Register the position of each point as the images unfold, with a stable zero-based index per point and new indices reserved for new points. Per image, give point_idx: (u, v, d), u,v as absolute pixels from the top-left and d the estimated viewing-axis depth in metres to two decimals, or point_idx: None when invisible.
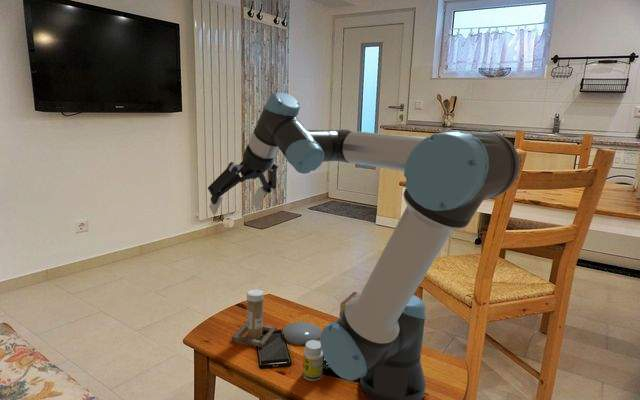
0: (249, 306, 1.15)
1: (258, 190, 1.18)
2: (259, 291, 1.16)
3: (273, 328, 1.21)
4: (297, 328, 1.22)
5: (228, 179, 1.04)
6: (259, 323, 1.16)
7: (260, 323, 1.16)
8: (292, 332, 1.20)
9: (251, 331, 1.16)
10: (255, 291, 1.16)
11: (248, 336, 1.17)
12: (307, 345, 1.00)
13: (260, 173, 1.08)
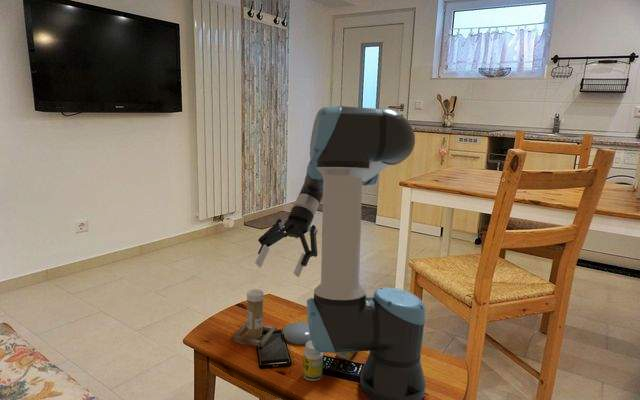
0: (249, 306, 1.15)
1: None
2: (259, 291, 1.16)
3: (273, 328, 1.21)
4: (297, 328, 1.22)
5: (272, 227, 1.33)
6: (259, 323, 1.16)
7: (260, 323, 1.16)
8: (292, 332, 1.20)
9: (251, 331, 1.16)
10: (255, 291, 1.16)
11: (248, 336, 1.17)
12: (307, 345, 1.00)
13: (297, 225, 1.29)
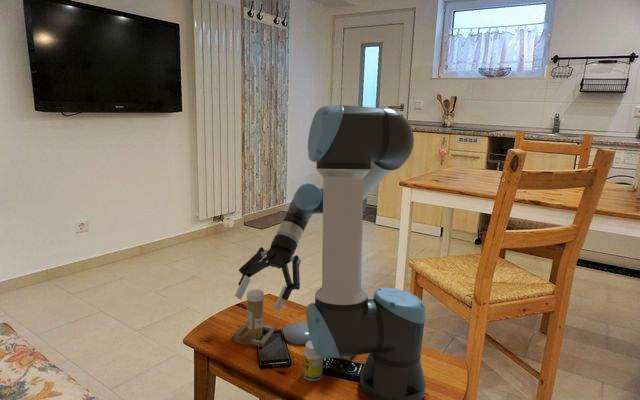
0: (249, 306, 1.15)
1: None
2: (259, 291, 1.16)
3: (273, 328, 1.21)
4: (297, 328, 1.22)
5: (254, 257, 1.27)
6: (259, 323, 1.16)
7: (260, 323, 1.16)
8: (292, 332, 1.20)
9: (251, 331, 1.16)
10: (255, 291, 1.16)
11: (248, 336, 1.17)
12: (307, 345, 1.00)
13: (279, 255, 1.23)
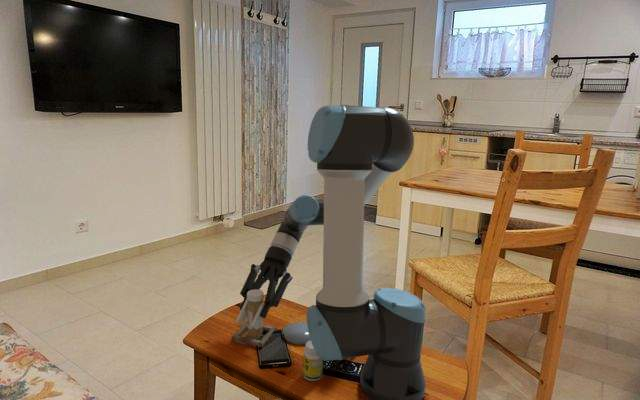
0: (249, 306, 1.15)
1: None
2: (259, 291, 1.16)
3: (273, 328, 1.21)
4: (297, 328, 1.22)
5: (250, 275, 1.22)
6: None
7: (260, 323, 1.16)
8: (292, 332, 1.20)
9: (251, 331, 1.16)
10: (255, 291, 1.16)
11: (248, 336, 1.17)
12: (307, 345, 1.00)
13: (273, 268, 1.20)
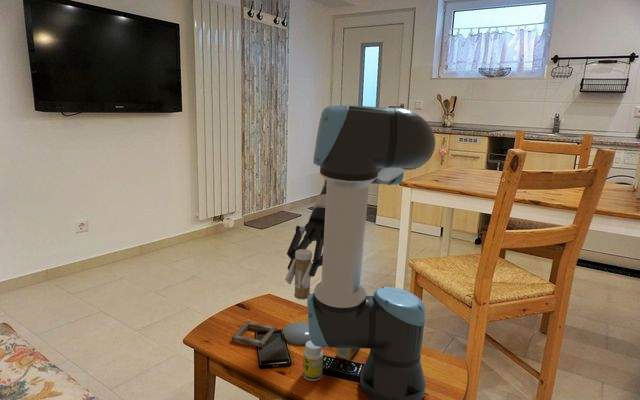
0: (298, 265, 1.14)
1: None
2: (307, 250, 1.16)
3: (273, 328, 1.21)
4: (297, 328, 1.22)
5: (295, 236, 1.21)
6: None
7: None
8: (292, 332, 1.20)
9: (300, 290, 1.15)
10: (303, 250, 1.16)
11: (296, 296, 1.16)
12: (307, 345, 1.00)
13: (319, 228, 1.20)
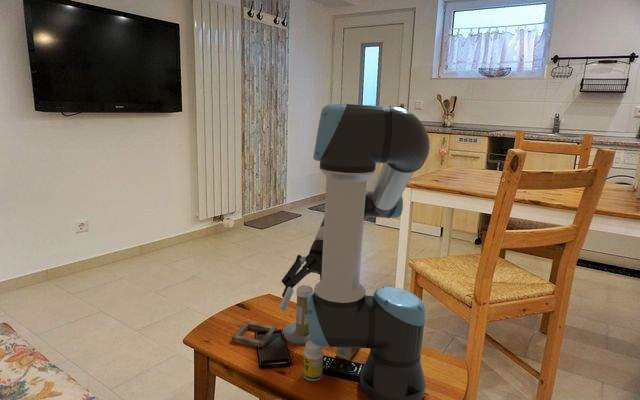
0: (299, 302, 1.17)
1: None
2: (308, 287, 1.18)
3: (273, 328, 1.21)
4: None
5: (294, 265, 1.24)
6: None
7: None
8: (292, 332, 1.20)
9: (301, 326, 1.18)
10: (304, 287, 1.18)
11: (297, 331, 1.19)
12: (307, 345, 1.00)
13: (319, 261, 1.22)
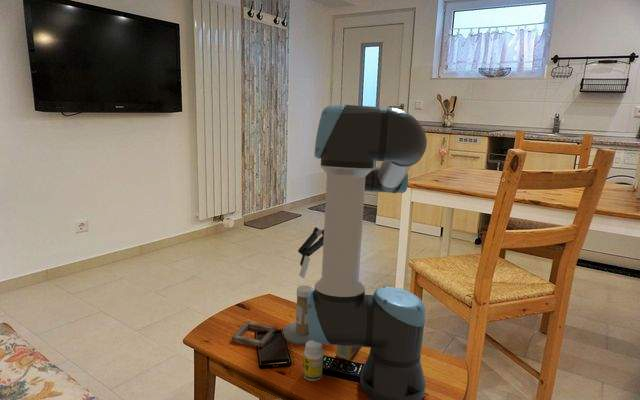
0: (299, 301, 1.17)
1: None
2: (308, 287, 1.18)
3: (273, 328, 1.21)
4: None
5: (310, 237, 1.34)
6: None
7: None
8: (292, 332, 1.20)
9: (301, 326, 1.18)
10: (304, 287, 1.18)
11: (297, 331, 1.19)
12: (307, 345, 1.00)
13: None
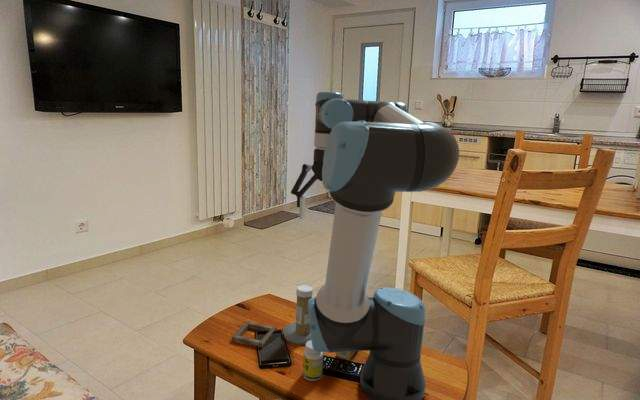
0: (299, 302, 1.17)
1: None
2: (308, 287, 1.18)
3: (273, 328, 1.21)
4: None
5: (301, 176, 1.21)
6: (308, 319, 1.18)
7: None
8: (292, 332, 1.20)
9: (301, 326, 1.18)
10: (304, 287, 1.18)
11: (297, 331, 1.19)
12: (307, 345, 1.00)
13: None
